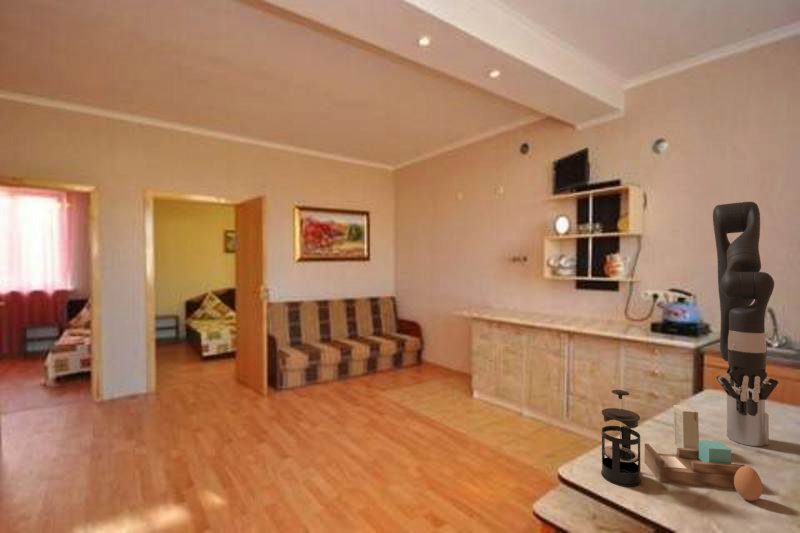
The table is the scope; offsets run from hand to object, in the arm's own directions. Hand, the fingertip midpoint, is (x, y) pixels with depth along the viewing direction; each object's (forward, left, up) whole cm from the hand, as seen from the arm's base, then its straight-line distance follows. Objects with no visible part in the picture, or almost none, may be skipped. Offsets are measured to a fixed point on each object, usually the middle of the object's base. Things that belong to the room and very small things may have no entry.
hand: (746, 414), depth 105 cm
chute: (+12, 0, -17) cm, 21 cm away
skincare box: (+6, -17, -17) cm, 25 cm away
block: (+7, 0, -14) cm, 15 cm away
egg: (+5, +10, -17) cm, 21 cm away
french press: (+31, +4, -17) cm, 36 cm away
